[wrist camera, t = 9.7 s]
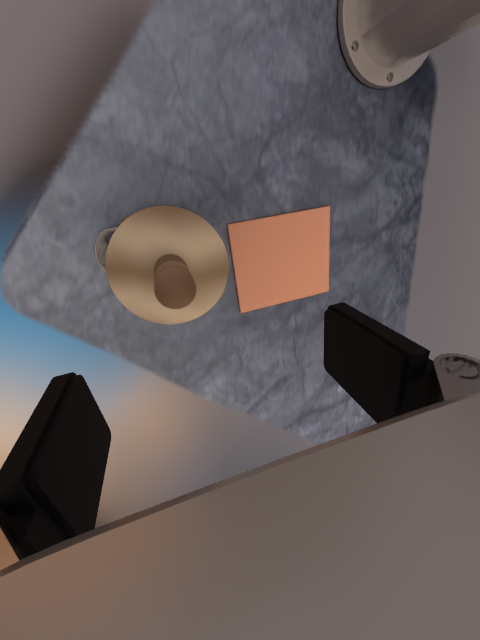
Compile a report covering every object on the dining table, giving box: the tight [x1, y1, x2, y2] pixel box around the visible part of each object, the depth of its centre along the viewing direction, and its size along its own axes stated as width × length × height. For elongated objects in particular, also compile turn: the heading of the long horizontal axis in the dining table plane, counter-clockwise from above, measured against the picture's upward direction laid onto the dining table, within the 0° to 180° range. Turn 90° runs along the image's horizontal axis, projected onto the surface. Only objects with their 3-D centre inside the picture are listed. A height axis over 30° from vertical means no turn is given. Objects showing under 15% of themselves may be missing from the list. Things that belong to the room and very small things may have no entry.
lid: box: [105, 206, 229, 324], centre depth 22 cm, size 11×11×7 cm
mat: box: [227, 206, 330, 313], centre depth 36 cm, size 12×14×1 cm
